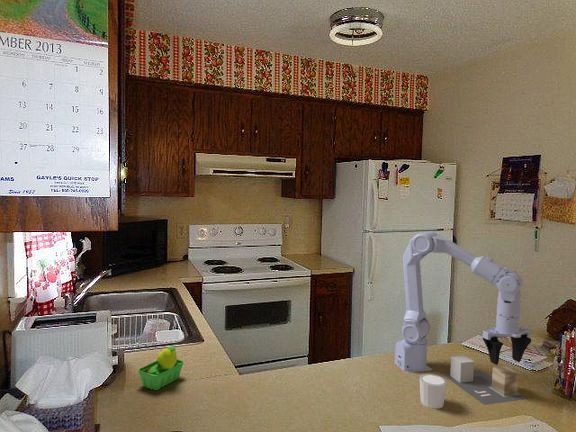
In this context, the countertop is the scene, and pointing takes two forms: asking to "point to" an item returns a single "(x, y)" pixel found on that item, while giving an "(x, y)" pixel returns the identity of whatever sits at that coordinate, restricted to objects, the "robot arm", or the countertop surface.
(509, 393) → the maple block
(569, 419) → the countertop surface
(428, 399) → the white tapered cylinder
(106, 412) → the countertop surface
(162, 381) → the fruit basket
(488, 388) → the mat
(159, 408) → the countertop surface
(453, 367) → the grey block
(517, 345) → the robot arm
